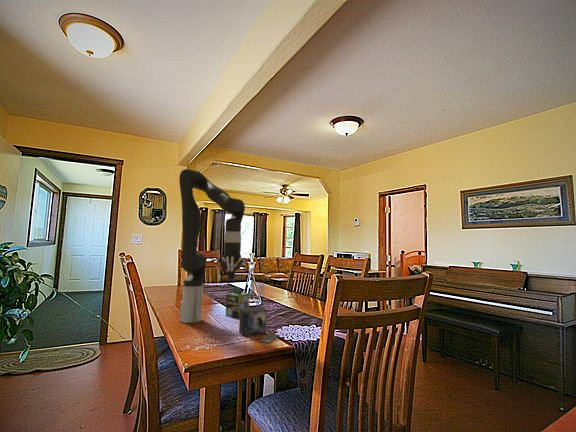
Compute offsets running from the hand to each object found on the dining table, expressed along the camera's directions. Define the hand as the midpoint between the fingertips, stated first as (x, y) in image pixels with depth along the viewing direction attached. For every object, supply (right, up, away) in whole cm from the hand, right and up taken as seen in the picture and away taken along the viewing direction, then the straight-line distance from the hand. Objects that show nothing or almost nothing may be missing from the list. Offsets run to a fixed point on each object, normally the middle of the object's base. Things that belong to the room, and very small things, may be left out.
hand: (231, 279), depth 140 cm
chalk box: (-1, -24, +24) cm, 34 cm away
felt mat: (+18, -22, -12) cm, 31 cm away
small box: (+10, -23, -6) cm, 25 cm away
